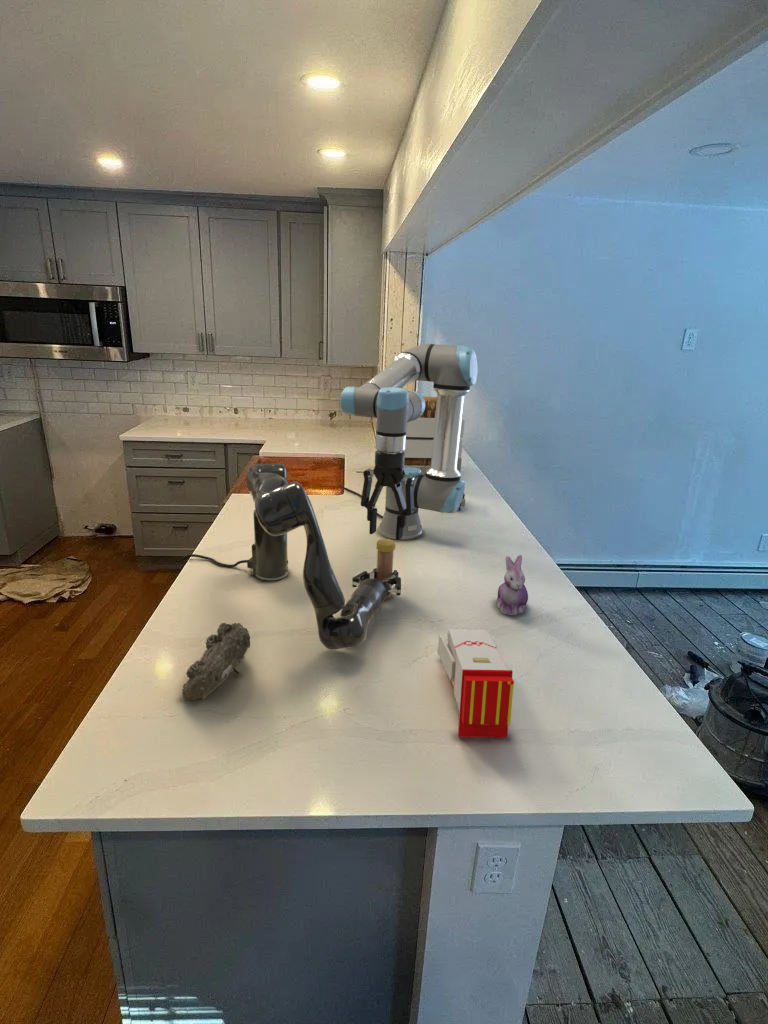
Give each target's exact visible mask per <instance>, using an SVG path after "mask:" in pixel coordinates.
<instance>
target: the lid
mask: <svg viewBox="0 0 768 1024" xmlns="http://www.w3.org/2000/svg"><path fill="white" fill-rule="evenodd" d="M395 549H396V542H395V540H394V539H390V538H380V539H377V540H376V551H377V550H378V551H381V552H392V551H395Z"/></svg>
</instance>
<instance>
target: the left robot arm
mask: <svg viewBox="0 0 768 1024" xmlns="http://www.w3.org/2000/svg"><path fill="white" fill-rule="evenodd" d="M246 487H247V491H248V492H249V494H250V496H251V497H252V500H253V502H254V510H253V537H254V543H252V544H251V557H250V558H249V559H242V560H238V561H236V562H235V563H234V564H228V563H224V562H223V563H222V562H219V561H217V560H216V559H214V558H213V557H209V556H206V555H201V554H197V553H195V554H194V553H192V554H186V555H184V556H183V557H181V560H182V561H185V560H186V559H188V558H199V559H203V560H208V561H211V562H212V563H214V564H216V565H217V566H221V567H225V568H235V567H237V566H238V565H241V564H244V563H246V567H247V569H250V570H251V569H252V576H254V577H256V578H257V579H259V580H261V581H267V582H268V581H269V582H270V581H271V582H274V581H279V580H283V579H284V578H286V577H287V576H288V574H289V559H288V533H289V532H292V531H294V530H296V529H298V528H300V527H303V529H304V533H305V538H306V551H305V555H304V556H305V557H304V563H303V569H302V582H303V587H304V590H305V592H306V595H307V596H308V599H309V601H310V604H311V605H312V607H313V609H314V614H315V619H316V626H317V633H318V639H319V642H320V643H321V645H322V646H323V647H324V648H326V649H328V650H331V651H335V650H342V649H350V648H357V647H359V646H360V645H362V644H363V643H364V642H365V640H366V639H367V634H368V633H367V632H368V626H369V621H371V619H372V618H373V617H374V615H376V614H377V612H378V610H379V609H380V608H381V606H382V605H383V603H384V602H385V600H386V599H385V598H386V596H387V595H389V594H390V593H391V594H395V595H396V596H397V597H400V596H401V595H402V578H401V577H400V576H399V571H398V570H397V569H393V571H392V574H391V576H389V577H385V578H383V579H377V578H376V572H377V567H375V568H373V569H372V570H371V571H369V572H368V571H367V570H364V571H362V572H360V573H358V574H356V575H355V576H353V577H352V579H351V582H352V583H351V587H352V588H355V589H354V591H352V593H351V595H350V597H349V599H347V601H346V599H345V596H344V593H343V591H342V589H341V586H340V584H339V581H338V579H337V577H336V575H335V573H334V570H333V567H332V565H331V562H330V559H329V555H328V552H327V548H326V544H325V541H324V538H323V537H324V536H323V535H322V531H321V528H320V524H319V522H318V519H317V515H316V513H315V510H314V507H313V504H312V502H311V499H310V497H309V495H308V493H307V491H306V490H305V488H304V487H303V485H302V484H301V483H300V482H298V481H289V482H288V471H287V468H286V466H285V465H284V464H283V463H279V462H278V463H255V464H252V465H250V466H249V467H248V469H247V473H246ZM391 587H392V588H391ZM339 612H340V614H339V615H340V616H336V617H334V615H336V614H337V613H339Z"/></svg>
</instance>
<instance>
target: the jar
mask: <svg viewBox="0 0 768 1024" xmlns="http://www.w3.org/2000/svg"><path fill="white" fill-rule="evenodd" d="M376 551H377V553H376V568H377V572H376V578H377V579H383V578H385V577H389V576H391V574H392V573H393V571H394V551H395V550H394V551H392V552H381V551H378V550H377V549H376ZM391 588H393V586H392V587H391ZM391 597H392V593H390V594H389V595H387V596H386V598H385V600H388V599H390V598H391Z"/></svg>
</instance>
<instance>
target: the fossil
mask: <svg viewBox="0 0 768 1024" xmlns="http://www.w3.org/2000/svg"><path fill="white" fill-rule="evenodd" d="M216 632H217V633H216V634H215V633H214V634H210V635H209V636H208V637H207V638H206V640H205V641H206V642H205V645H206V646H205V648H206V649H205V651H204V653H202V656H201V658H200V660H196V661H194V663H193V664H191V665H190V666H189V667H188V668H187V671H186V673H185V674H186V676H187V678H188V679H187V681H186V682H185V683H184V684H183V685H182V689H181V690H182V698H183V700H184V699H185V700H186V699H187V700H188V701H191V702H192V701H197V700H201V699H202V700H203V699H204V700H205V698H207V697H208V696H209V695H210V694H211V693H212V692H214V691H215V690H216V689H217V687H219V686H220V685H221V684H222V683H223V682H224V681H225V680H227V678H228V676H229V674H230V673H232V672H234V673H235V674H236V675H237V676H239V675H240V672H239V671H238V670H237V669H236V666H237V664H238V663H241V662H242V661H243V659H244V658H245V655H246V654H247V652H248V649H250V648H251V635H250V631H249V630H248V628H247V627H244V626H243V624H242V623H240V622H234V623H231V624H230V623H226V622H222V623H220V624H219V625H218V628H217V631H216Z"/></svg>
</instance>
